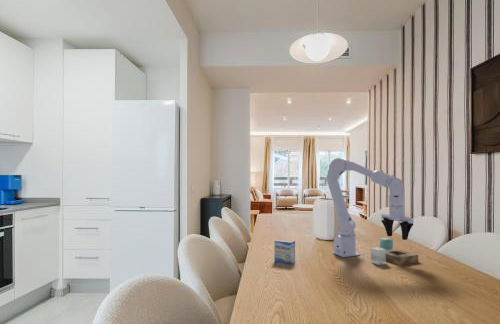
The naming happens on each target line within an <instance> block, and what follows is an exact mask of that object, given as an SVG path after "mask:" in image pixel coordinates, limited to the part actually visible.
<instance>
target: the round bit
mask: <svg viewBox="0 0 500 324" xmlns="http://www.w3.org/2000/svg"><path fill="white" fill-rule="evenodd" d="M393 241H394V239H393V238H390V237H379V247H380V248H383V249H386V250H390V249H394V242H393Z"/></svg>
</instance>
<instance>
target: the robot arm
mask: <svg viewBox="0 0 500 324" xmlns="http://www.w3.org/2000/svg"><path fill="white" fill-rule="evenodd" d="M346 171H348V172H349V171H350V172H351V171H353V172H356V173H359V174H360V175H364V176H366V177H369V178H370V181H371V182H372V183H374V184H377V185H379V186H381V187H383V188H388V189H389V195H388V211H389V213H388V214H387V213H382V214H380V215H381V223H382V224H383V227H384V229H385V233H386V237H392V236H393V226H394V222H395V221H396V222H399V226H400V229H401V239H402V240H403V241H405V240H406V241H407V240H409V239H408V238H409V234H410V232H411V229H412V227H413V226H414V223H415V222H414V218H413V217H409V216H405V197H404V196H405V195H404V191H403V190H404V187H405V186H404V182H403V180H402V179H400V178H398V177H395V175H394V174H388V173H387V172H384V170H382V169H380V170H379V169H375V170H371V169H369V168H367V167H364V166H362V165H361V164H358V163H356V162H355V161H349V160H346V159H344V158H338V157H337V158H336V157H335V158H334V159H333V160H331V162H330V163H329V165H328V170H327V175H326V183H327V185H328V188H329V191H330V196H331V198H332V201H333V204H334V205H333V206H334V207H335V211H336V214H337V221H338V231H339V232H338V235H335V236H334V237H333V251H332V254H333V255H337V256H340V257H342V258H349V257H350V258H351V257H354V256H361V254H360V253H359V252H356V251H357V250H356V249H357V248H356V246H357V245H356V244H357V243H356V242H357V241H356V233H355V231H354V230H355V229H356V223H355V220H353V218H352V217H351V214H350V212H349V211H348V207H347V204H346V201H345V198H344V195H343V192H342V188H341V185H340V182H339V179H340V177H341V176H342V174H344V173H345V172H346Z"/></svg>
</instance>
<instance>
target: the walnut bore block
mask: <svg viewBox="0 0 500 324" xmlns="http://www.w3.org/2000/svg"><path fill="white" fill-rule="evenodd" d="M386 262H388V263H392V264H394V265H398V266H403V265H409V264H414V263H419V254H416V253H413V252H410V251H406V250H402V249H398V248H393V249H390V250H386Z"/></svg>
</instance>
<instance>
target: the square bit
mask: <svg viewBox="0 0 500 324" xmlns="http://www.w3.org/2000/svg"><path fill="white" fill-rule="evenodd" d="M370 262H371V264H374V265H378V266H382V265H386V264H387V261H386V249H383V248H380V246H375V247H371V248H370Z"/></svg>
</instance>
